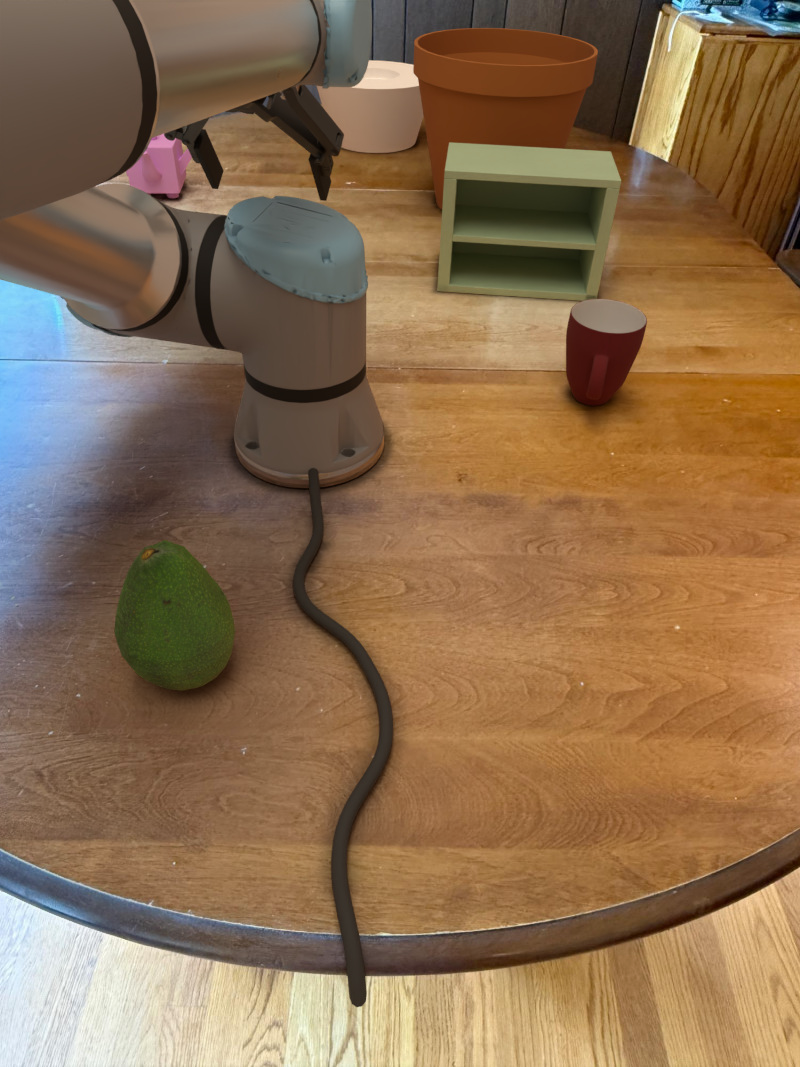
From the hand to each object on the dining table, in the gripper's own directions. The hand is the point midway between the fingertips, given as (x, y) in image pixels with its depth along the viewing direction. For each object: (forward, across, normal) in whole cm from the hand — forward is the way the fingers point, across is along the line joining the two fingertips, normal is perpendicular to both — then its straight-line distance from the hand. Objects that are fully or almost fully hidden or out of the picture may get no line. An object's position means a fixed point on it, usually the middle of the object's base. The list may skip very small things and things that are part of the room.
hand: (271, 185), depth 93 cm
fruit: (-19, -13, +58) cm, 63 cm away
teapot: (+29, +34, -23) cm, 50 cm away
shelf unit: (+23, -29, -6) cm, 38 cm away
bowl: (+54, +6, -56) cm, 78 cm away
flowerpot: (+38, -22, -31) cm, 54 cm away
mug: (+6, -41, +20) cm, 46 cm away
